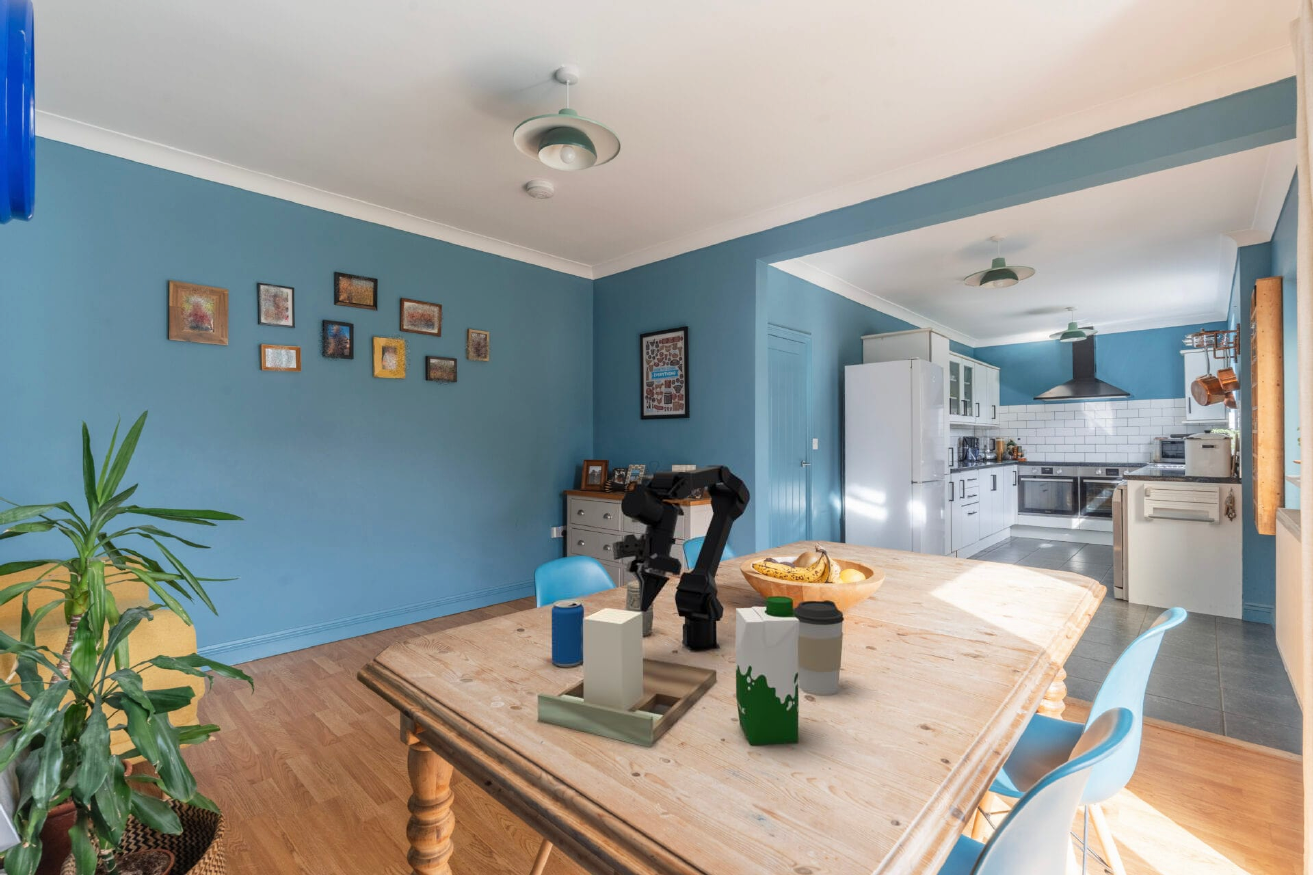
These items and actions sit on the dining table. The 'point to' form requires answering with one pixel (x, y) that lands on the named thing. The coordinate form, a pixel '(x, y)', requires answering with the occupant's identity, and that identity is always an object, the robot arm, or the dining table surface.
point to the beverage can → (567, 633)
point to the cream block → (613, 658)
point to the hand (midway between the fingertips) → (642, 611)
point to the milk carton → (768, 671)
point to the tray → (647, 720)
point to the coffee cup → (819, 646)
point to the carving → (634, 606)
